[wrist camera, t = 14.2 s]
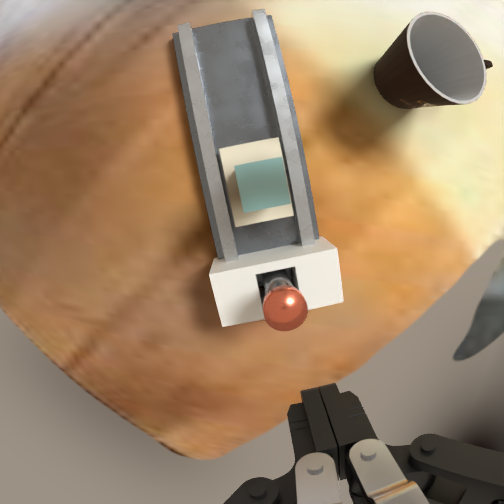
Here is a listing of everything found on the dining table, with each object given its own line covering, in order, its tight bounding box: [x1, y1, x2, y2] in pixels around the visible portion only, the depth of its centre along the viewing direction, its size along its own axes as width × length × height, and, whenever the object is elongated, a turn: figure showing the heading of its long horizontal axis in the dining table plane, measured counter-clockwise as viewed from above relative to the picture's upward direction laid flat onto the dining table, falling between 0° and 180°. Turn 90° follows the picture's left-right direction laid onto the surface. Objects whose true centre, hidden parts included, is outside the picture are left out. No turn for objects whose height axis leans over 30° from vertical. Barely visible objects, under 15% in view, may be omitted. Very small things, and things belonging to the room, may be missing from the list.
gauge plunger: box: [262, 269, 308, 331], centre depth 27 cm, size 3×3×9 cm
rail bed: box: [173, 9, 319, 286], centre depth 29 cm, size 27×10×3 cm, turn 11°
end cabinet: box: [209, 236, 344, 327], centre depth 30 cm, size 5×11×6 cm, turn 101°
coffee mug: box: [374, 12, 493, 109], centre depth 24 cm, size 12×9×10 cm
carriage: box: [219, 137, 294, 227], centre depth 25 cm, size 7×5×10 cm
